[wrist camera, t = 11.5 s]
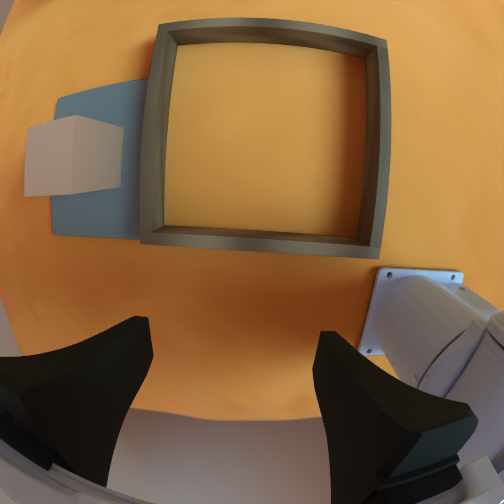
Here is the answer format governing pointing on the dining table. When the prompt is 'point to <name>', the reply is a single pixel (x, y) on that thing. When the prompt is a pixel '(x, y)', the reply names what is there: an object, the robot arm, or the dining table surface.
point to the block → (72, 157)
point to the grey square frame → (272, 33)
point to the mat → (128, 195)
